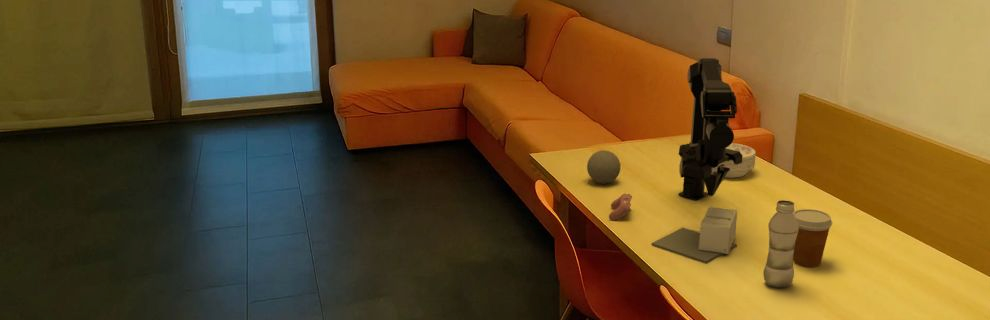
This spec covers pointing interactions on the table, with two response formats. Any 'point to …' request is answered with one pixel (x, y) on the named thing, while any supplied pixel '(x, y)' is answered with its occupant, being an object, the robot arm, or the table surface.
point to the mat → (687, 245)
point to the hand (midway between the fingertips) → (710, 195)
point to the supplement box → (718, 230)
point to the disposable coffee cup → (811, 236)
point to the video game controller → (620, 206)
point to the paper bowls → (747, 161)
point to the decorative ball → (603, 166)
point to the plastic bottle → (781, 245)
